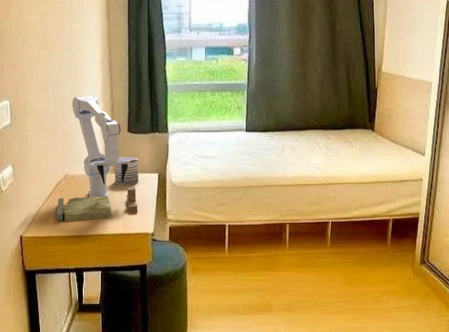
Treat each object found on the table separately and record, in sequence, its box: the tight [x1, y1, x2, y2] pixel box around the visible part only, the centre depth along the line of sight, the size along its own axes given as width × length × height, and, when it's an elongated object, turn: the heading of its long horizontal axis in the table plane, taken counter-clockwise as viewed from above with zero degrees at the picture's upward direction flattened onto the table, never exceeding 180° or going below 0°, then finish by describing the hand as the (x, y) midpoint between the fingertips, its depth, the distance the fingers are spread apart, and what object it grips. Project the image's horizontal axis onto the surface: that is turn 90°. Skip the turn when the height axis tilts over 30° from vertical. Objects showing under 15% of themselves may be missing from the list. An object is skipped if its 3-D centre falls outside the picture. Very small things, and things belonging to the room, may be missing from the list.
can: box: [114, 156, 139, 186], centre depth 266 cm, size 11×11×12 cm
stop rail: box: [56, 197, 65, 222], centre depth 223 cm, size 20×2×3 cm, turn 14°
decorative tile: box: [63, 196, 113, 222], centre depth 226 cm, size 19×20×4 cm
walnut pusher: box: [126, 187, 138, 214], centre depth 231 cm, size 16×3×8 cm, turn 14°
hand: (113, 182), depth 233 cm, fingers open, 7 cm apart
